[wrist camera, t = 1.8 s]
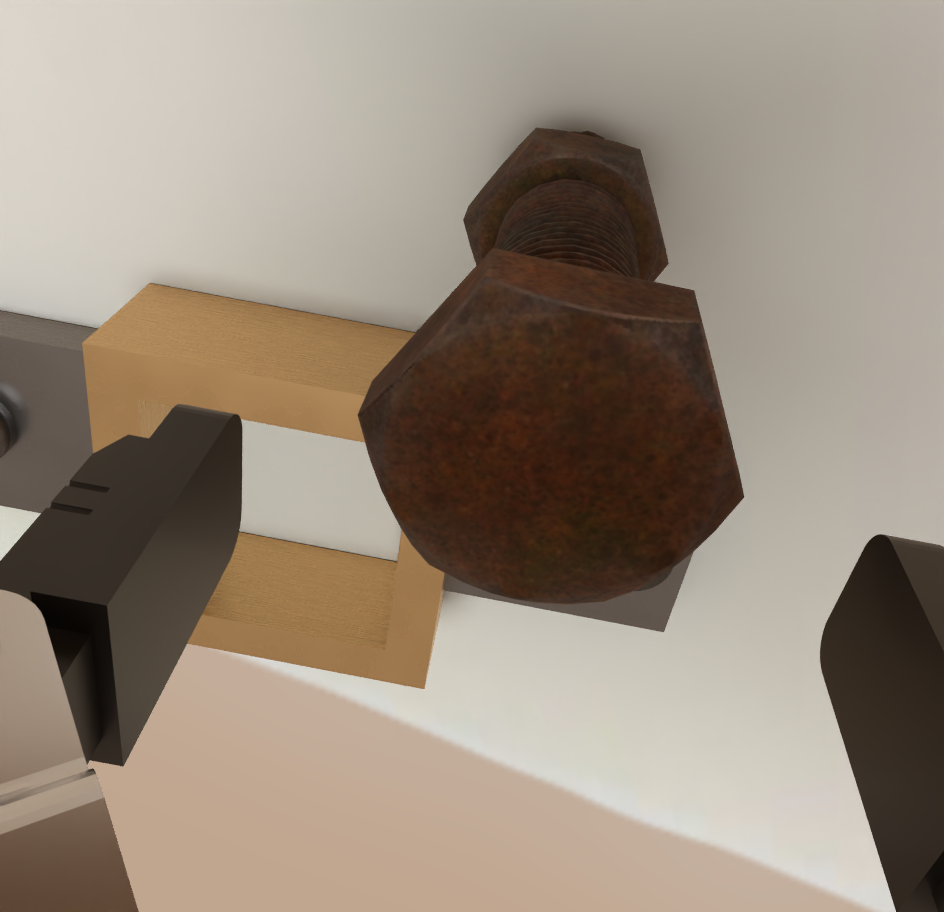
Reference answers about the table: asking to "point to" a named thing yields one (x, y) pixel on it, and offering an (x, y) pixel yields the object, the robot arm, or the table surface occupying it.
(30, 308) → the table surface
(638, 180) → the bolt
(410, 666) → the square wooden frame
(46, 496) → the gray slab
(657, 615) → the gray knob plate
